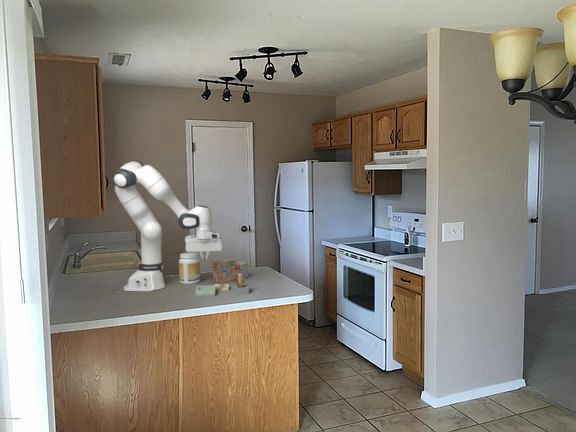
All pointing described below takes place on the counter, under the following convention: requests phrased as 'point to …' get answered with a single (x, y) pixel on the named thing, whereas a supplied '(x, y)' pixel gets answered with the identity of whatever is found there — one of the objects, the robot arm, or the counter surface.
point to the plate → (222, 286)
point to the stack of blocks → (228, 270)
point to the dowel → (240, 280)
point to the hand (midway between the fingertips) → (204, 259)
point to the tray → (206, 290)
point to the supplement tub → (189, 268)
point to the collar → (241, 289)
